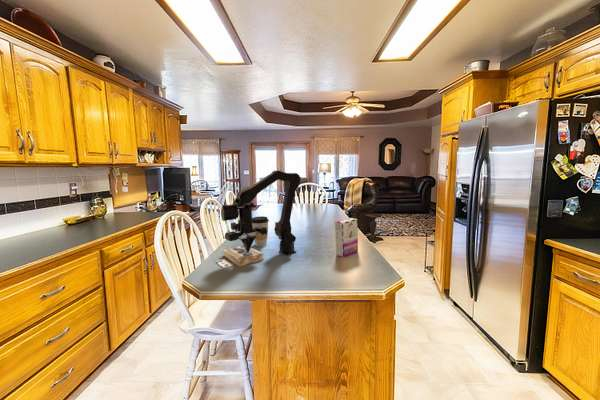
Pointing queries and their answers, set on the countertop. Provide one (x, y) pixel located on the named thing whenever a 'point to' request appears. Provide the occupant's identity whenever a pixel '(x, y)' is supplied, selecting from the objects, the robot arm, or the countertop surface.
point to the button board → (242, 256)
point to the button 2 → (247, 253)
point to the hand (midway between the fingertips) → (247, 251)
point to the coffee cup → (260, 239)
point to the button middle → (242, 250)
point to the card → (224, 263)
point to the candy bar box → (346, 237)
